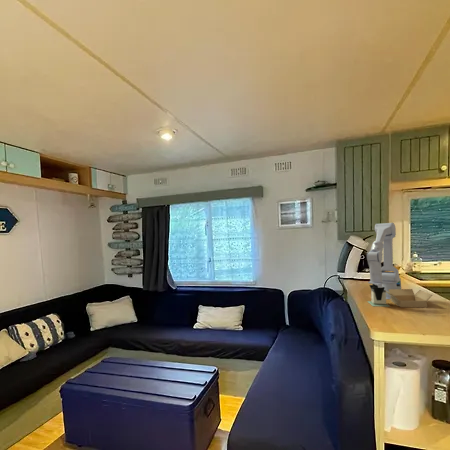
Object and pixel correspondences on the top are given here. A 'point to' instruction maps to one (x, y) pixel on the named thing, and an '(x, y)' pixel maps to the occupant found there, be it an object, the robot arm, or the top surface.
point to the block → (374, 300)
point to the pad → (377, 304)
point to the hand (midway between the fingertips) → (377, 299)
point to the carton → (409, 297)
